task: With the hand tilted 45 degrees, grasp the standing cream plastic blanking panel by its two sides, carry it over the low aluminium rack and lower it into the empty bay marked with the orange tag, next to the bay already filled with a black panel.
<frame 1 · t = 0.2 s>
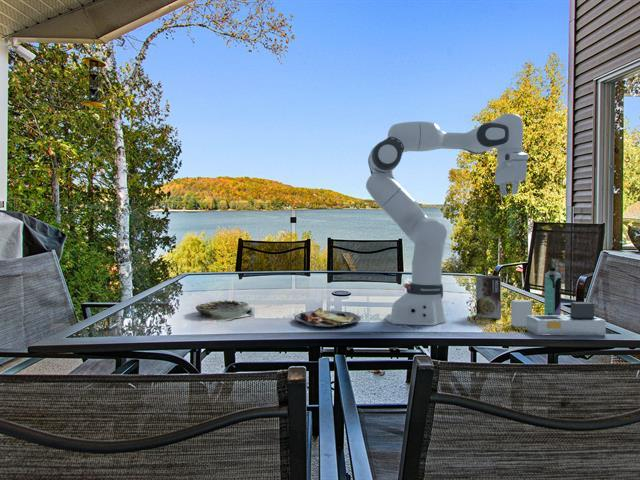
hand: (508, 195, 160), 48 cm above the table, tool pointing down, fingers open, 8 cm apart
rack: (564, 332, 143), on the table
food plate: (327, 322, 161), on the table
coffee box: (488, 317, 168), on the table
grey round shallow dish: (222, 315, 176), on the table
panel: (521, 325, 153), on the table
spray can: (552, 320, 161), on the table
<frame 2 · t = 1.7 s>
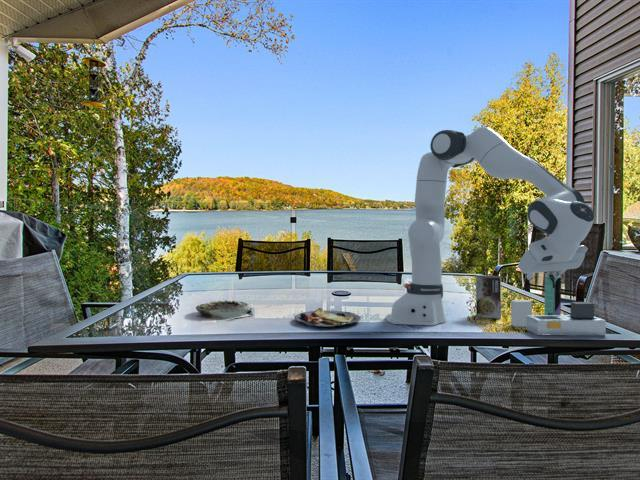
hand: (542, 276, 142), 19 cm above the table, tool tilted 45°, fingers open, 8 cm apart
nothing on the table moved.
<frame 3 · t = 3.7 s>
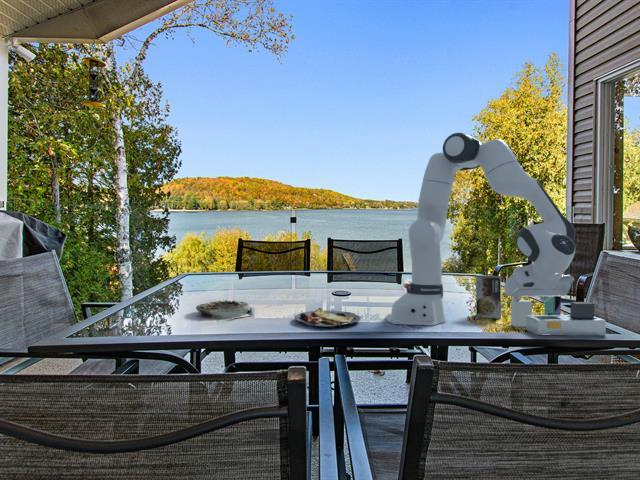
hand: (529, 300, 146), 10 cm above the table, tool tilted 45°, fingers open, 8 cm apart
nothing on the table moved.
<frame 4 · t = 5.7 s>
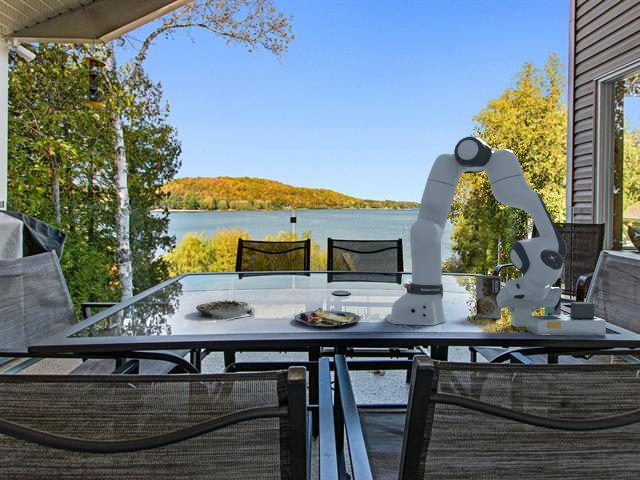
hand: (520, 310, 153), 5 cm above the table, tool tilted 45°, fingers closed on panel, 6 cm apart
panel: (521, 325, 153), on the table, touching gripper
everything else where it was.
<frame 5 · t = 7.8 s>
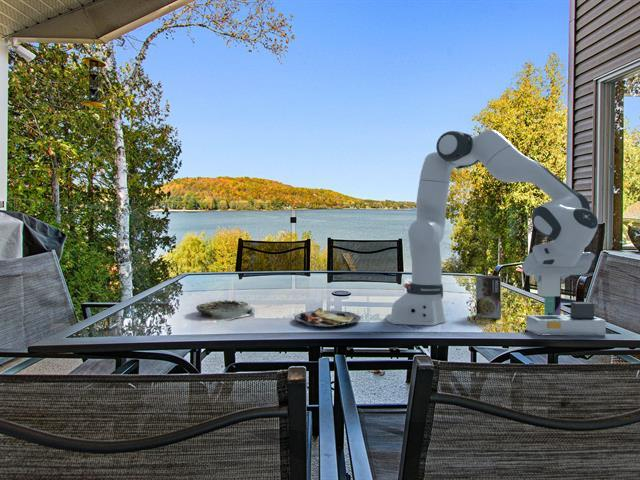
hand: (547, 280, 143), 18 cm above the table, tool tilted 45°, fingers closed on panel, 6 cm apart
panel: (548, 295, 142), point 12 cm above the table, touching gripper
everything else where it was.
when the fingers open (8 cm above the table, at t = 10.1 s): panel drops 1 cm, resting on rack.
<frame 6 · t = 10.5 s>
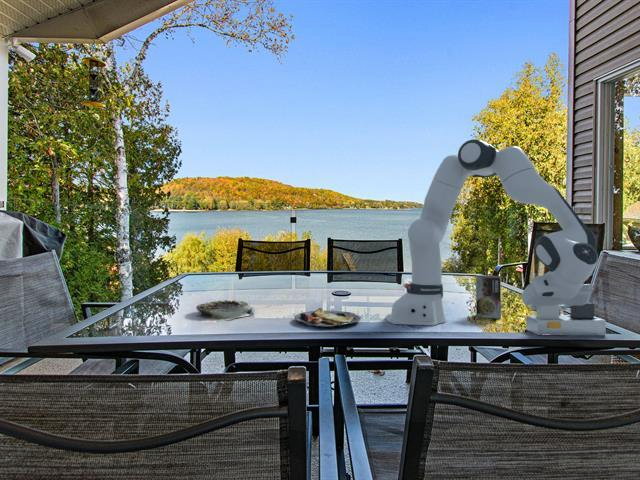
hand: (546, 309, 143), 8 cm above the table, tool tilted 45°, fingers open, 8 cm apart
panel: (547, 329, 143), point 1 cm above the table, touching rack
everything else where it was.
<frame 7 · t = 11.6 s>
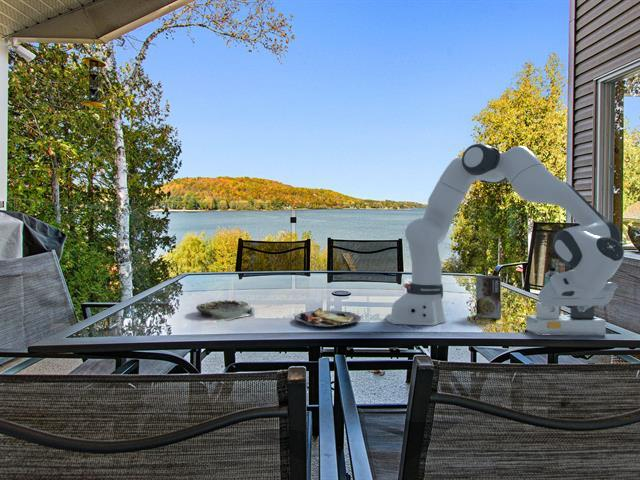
hand: (565, 310, 133), 9 cm above the table, tool tilted 45°, fingers open, 8 cm apart
nothing on the table moved.
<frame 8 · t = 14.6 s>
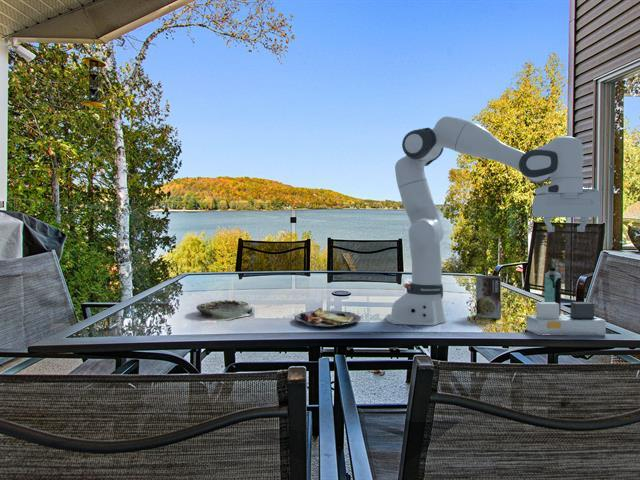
hand: (565, 231, 134), 34 cm above the table, tool pointing down, fingers open, 8 cm apart
nothing on the table moved.
at the end: panel 0.0 cm from the target spot on the rack, point 1.0 cm above the rack's base; panel tilted 0°; the gripper is holding nothing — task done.
